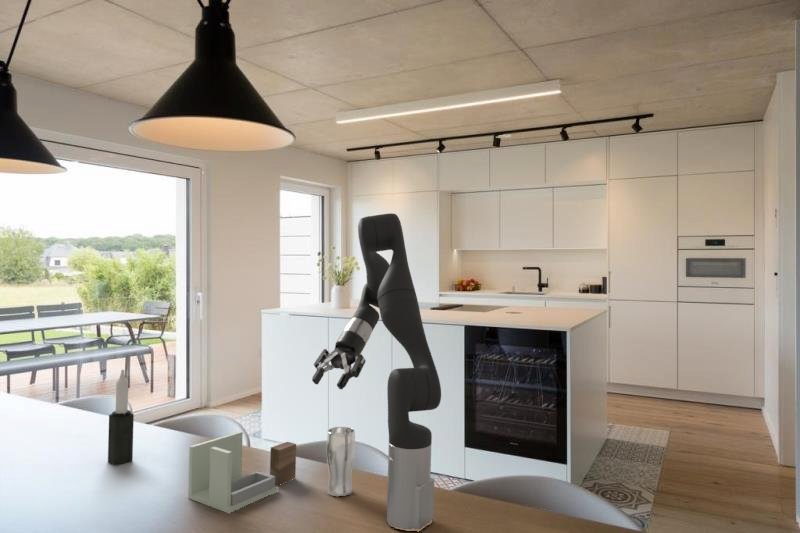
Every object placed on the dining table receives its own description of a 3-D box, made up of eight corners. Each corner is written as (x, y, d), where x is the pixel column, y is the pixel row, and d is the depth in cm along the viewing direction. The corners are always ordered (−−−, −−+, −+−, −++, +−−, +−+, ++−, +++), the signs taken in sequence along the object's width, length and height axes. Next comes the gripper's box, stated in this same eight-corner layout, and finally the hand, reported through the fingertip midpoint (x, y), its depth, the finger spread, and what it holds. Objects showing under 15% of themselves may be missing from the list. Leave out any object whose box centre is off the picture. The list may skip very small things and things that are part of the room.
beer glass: (327, 499, 134) (329, 435, 134) (323, 488, 140) (325, 427, 140) (356, 496, 135) (358, 433, 135) (351, 485, 142) (352, 425, 142)
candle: (115, 466, 151) (117, 372, 151) (106, 461, 154) (108, 369, 154) (134, 461, 155) (136, 369, 155) (124, 456, 158) (127, 367, 158)
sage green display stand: (278, 491, 137) (279, 437, 137) (229, 513, 125) (230, 454, 125) (238, 478, 145) (239, 427, 145) (188, 498, 132) (189, 442, 132)
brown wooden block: (295, 478, 146) (296, 443, 146) (278, 486, 141) (279, 449, 141) (286, 476, 147) (287, 441, 147) (269, 483, 142) (270, 447, 142)
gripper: (329, 327, 163) (300, 373, 153) (369, 332, 155) (341, 380, 146) (340, 343, 167) (312, 389, 158) (380, 349, 160) (353, 397, 150)
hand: (326, 385), depth 152 cm, fingers open, 8 cm apart
